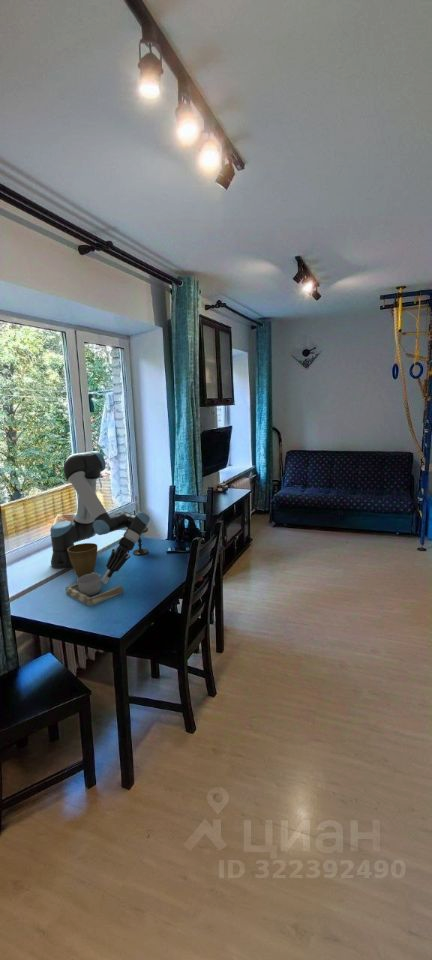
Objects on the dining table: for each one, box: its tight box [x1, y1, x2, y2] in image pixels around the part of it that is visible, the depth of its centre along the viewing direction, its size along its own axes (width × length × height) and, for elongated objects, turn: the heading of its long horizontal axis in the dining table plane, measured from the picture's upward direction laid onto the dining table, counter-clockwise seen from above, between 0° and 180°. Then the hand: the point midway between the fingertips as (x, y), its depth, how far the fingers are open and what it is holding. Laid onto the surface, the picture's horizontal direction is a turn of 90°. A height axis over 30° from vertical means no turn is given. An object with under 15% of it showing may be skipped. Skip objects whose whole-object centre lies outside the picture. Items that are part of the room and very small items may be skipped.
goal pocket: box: [65, 583, 124, 607], centre depth 213 cm, size 21×18×3 cm
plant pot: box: [67, 542, 98, 579], centre depth 233 cm, size 15×15×16 cm
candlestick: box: [132, 495, 149, 556], centre depth 263 cm, size 11×11×35 cm
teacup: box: [76, 571, 102, 597], centre depth 214 cm, size 14×11×8 cm
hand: (103, 582), depth 216 cm, fingers closed
